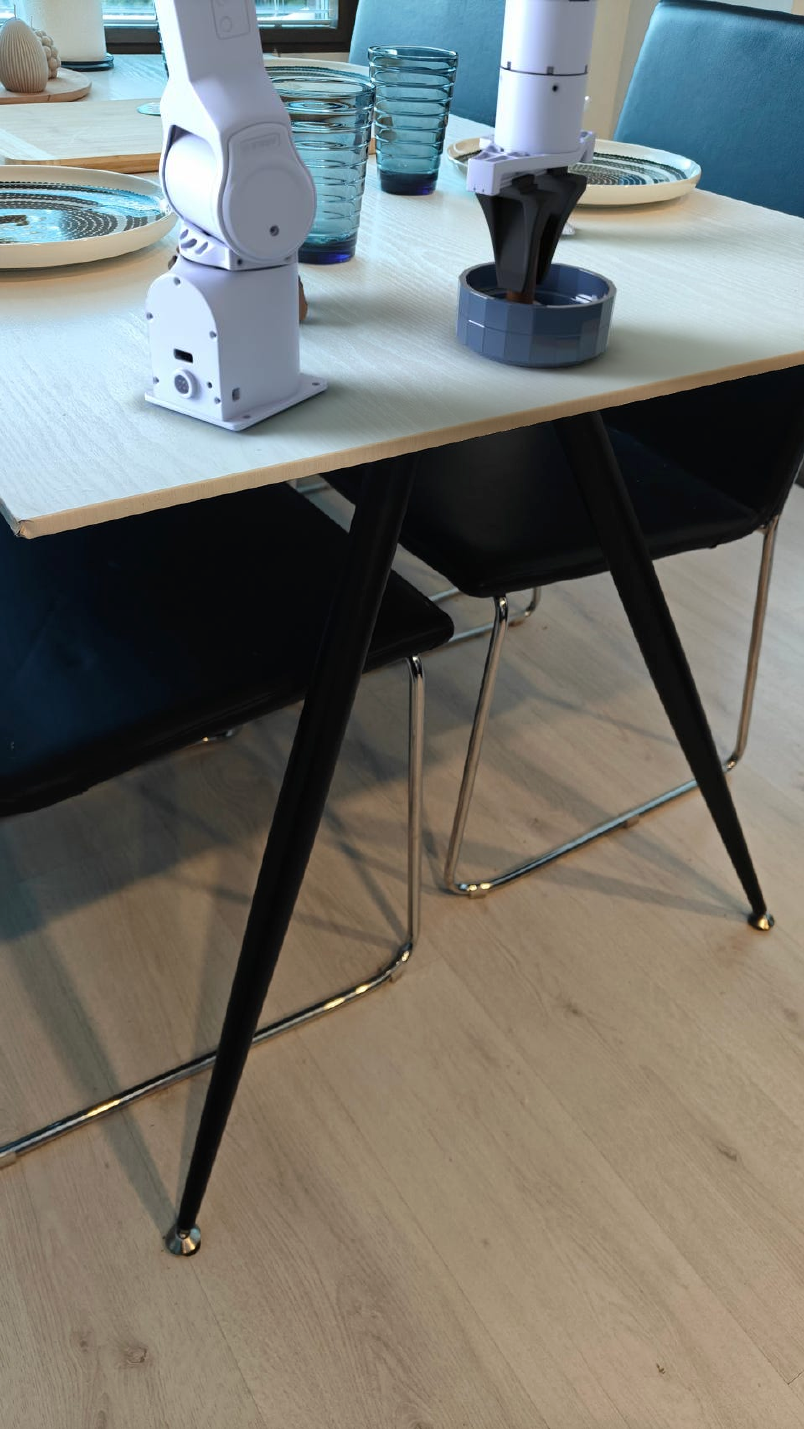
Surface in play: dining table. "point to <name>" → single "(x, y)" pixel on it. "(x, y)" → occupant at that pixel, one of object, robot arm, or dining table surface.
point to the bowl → (536, 317)
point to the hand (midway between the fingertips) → (521, 285)
